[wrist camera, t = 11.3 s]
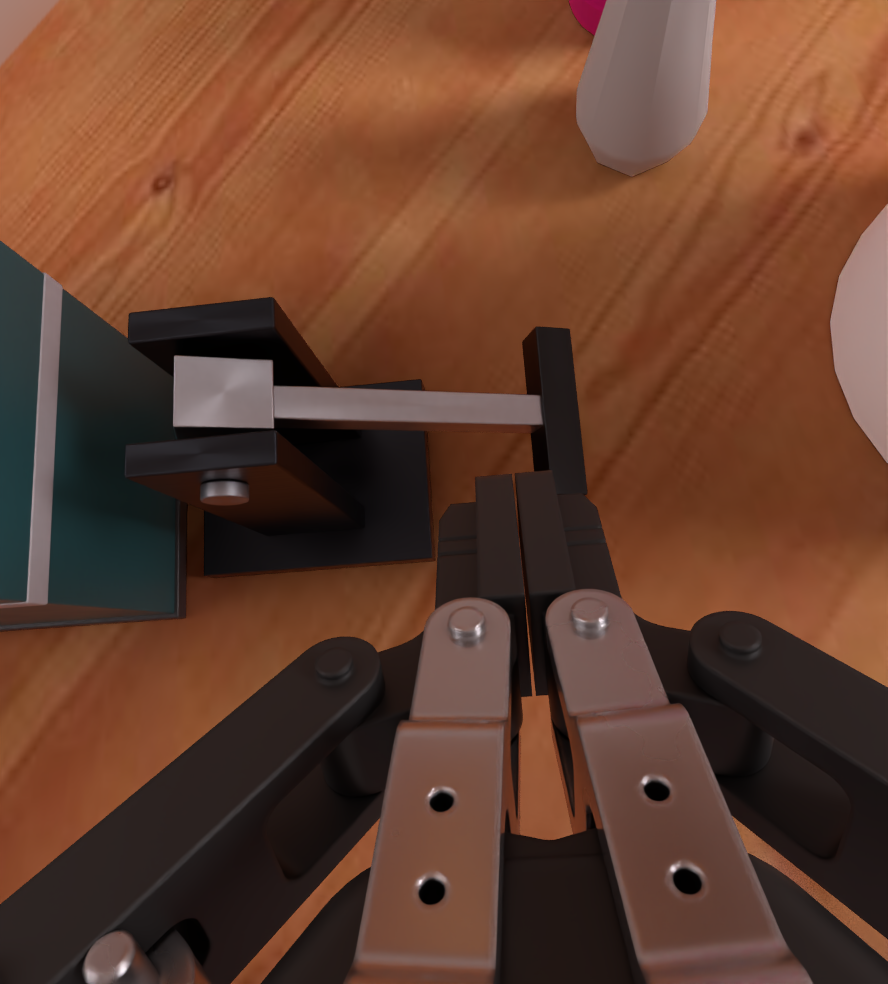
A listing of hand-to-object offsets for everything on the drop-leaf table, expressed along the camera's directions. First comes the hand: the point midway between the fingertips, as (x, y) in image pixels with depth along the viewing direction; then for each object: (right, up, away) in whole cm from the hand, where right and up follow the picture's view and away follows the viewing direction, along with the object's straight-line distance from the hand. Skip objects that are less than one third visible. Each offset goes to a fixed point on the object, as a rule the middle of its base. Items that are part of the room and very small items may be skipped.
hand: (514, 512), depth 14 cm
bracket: (-7, +1, +19) cm, 20 cm away
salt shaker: (+8, +17, +21) cm, 28 cm away
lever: (-4, +3, +11) cm, 11 cm away
